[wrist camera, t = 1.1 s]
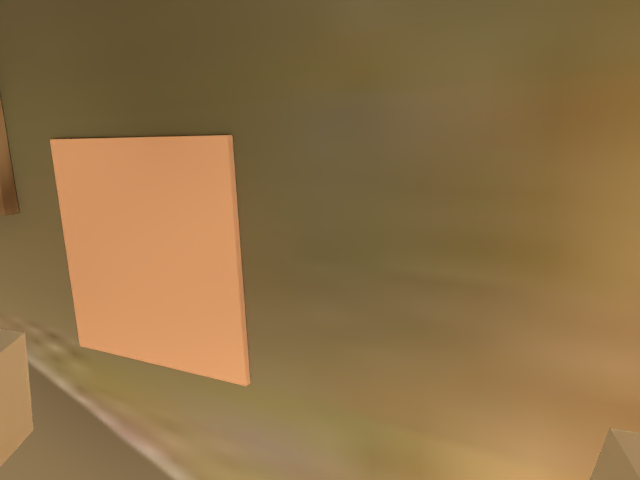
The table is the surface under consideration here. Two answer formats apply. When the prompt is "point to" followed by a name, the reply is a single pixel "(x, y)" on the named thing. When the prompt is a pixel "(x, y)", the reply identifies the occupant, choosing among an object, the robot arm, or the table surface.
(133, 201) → the terracotta mat
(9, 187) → the walnut frame
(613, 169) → the table surface
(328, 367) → the table surface
